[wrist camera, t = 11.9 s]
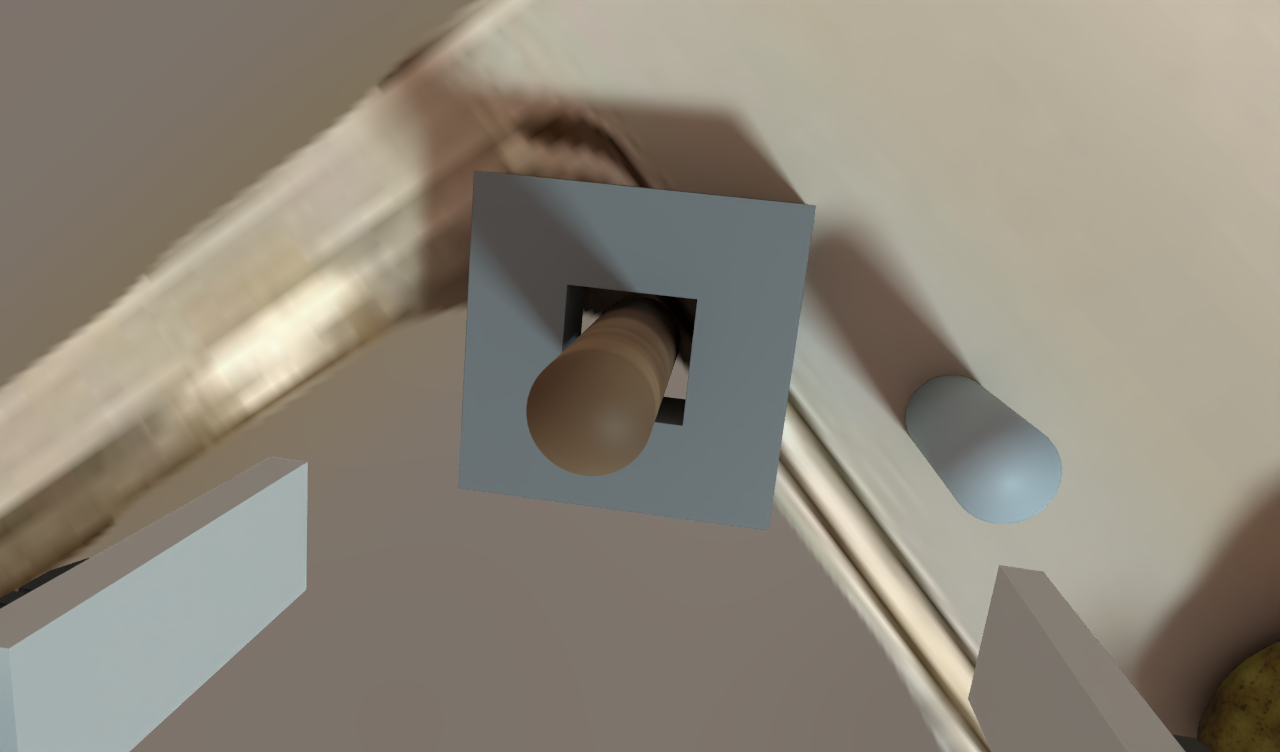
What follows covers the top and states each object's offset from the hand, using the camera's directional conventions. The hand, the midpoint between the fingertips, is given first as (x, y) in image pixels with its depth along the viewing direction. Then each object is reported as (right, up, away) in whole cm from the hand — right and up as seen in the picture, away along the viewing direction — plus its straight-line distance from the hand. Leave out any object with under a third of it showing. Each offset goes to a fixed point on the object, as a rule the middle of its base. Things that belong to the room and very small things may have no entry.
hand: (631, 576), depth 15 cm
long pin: (0, +6, +24) cm, 24 cm away
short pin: (+15, +2, +23) cm, 27 cm away
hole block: (0, +6, +24) cm, 24 cm away
